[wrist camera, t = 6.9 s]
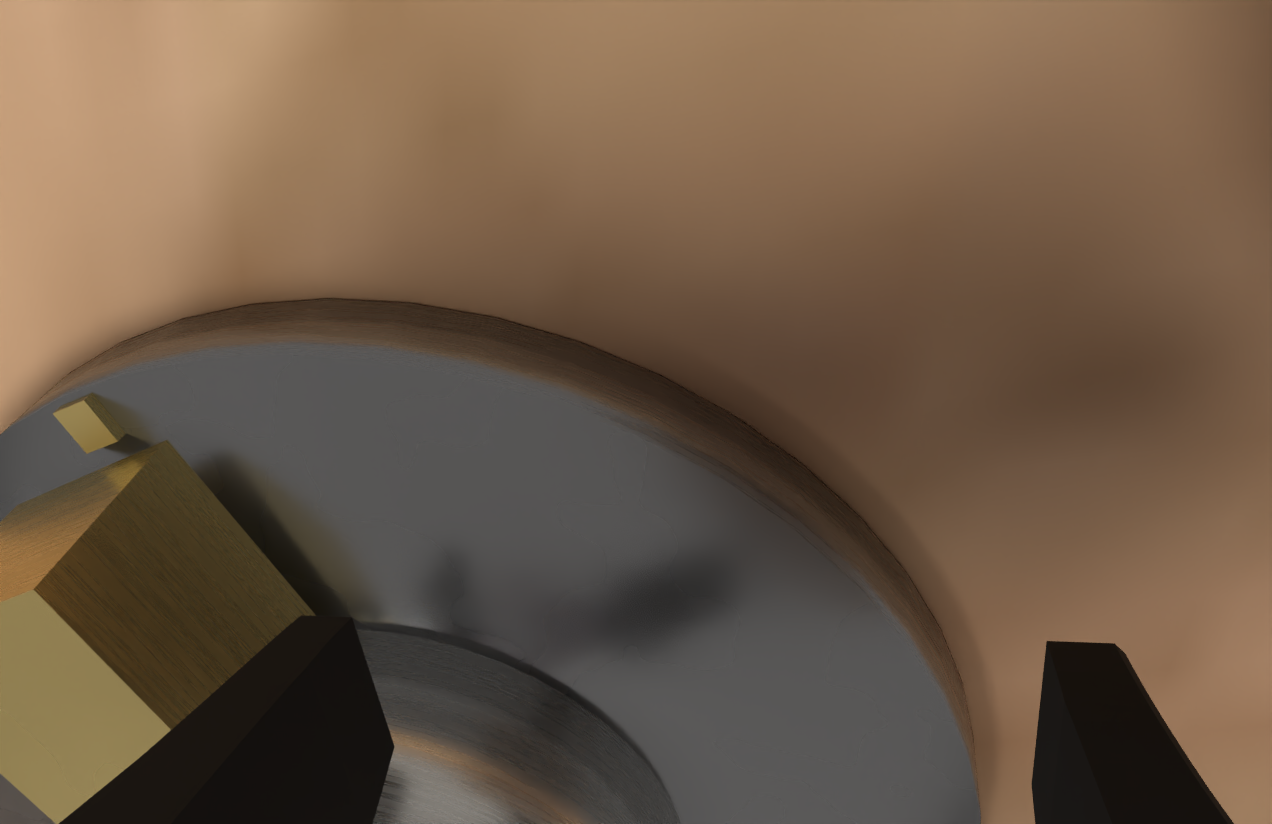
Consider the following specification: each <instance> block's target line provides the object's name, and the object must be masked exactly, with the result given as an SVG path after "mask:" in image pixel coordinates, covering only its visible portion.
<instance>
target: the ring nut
mask: <svg viewBox="0 0 1272 824" xmlns="http://www.w3.org/2000/svg"><path fill="white" fill-rule="evenodd" d="M301 615H305V616H316V615H315V614H314V613H313V611H312V610H311V609H310V608H309V607H308V605H307V604H306V603H305V602H304V601H303V600H302V598H301V597H300V596H299V595H298V594H297V592H296V591H295V590H294V589H293V588H292V587H291V585H290V584H289V583H288V582H287V581H286V579H285V578H284V577H283V576H282V575H281V574H280V572H279V571H278V570H277V569H276V568H275V566H274V565H273V564H272V563H271V562H270V560H269V559H268V558H267V557H266V556H265V555H264V553H263V552H262V551H261V550H260V549H259V547H258V546H257V545H256V544H255V543H254V542H253V540H252V539H251V538H250V537H249V536H248V534H247V533H246V532H245V531H244V530H243V528H242V527H241V526H240V525H239V524H238V523H237V521H236V520H235V519H234V518H233V517H232V515H231V514H230V513H229V512H228V511H227V510H226V508H225V507H224V506H223V505H222V504H221V502H220V501H219V500H218V499H217V498H216V497H215V495H214V494H213V493H212V492H211V491H210V489H209V488H208V487H207V486H206V485H205V483H204V482H203V481H202V480H201V479H200V478H199V476H198V475H197V474H196V473H195V472H194V470H193V469H192V468H191V467H190V466H189V465H188V463H187V462H186V461H185V460H184V459H183V457H182V456H181V455H180V454H179V453H178V452H177V450H176V449H175V448H174V447H173V446H172V444H171V443H170V442H169V441H168V440H165V441H163V442H160V443H158V444H156V445H153V446H151V447H149V448H147V449H144V450H142V451H140V452H137V453H135V454H133V455H131V456H128V457H126V458H124V459H121V460H119V461H117V462H115V463H112V464H110V465H108V466H105V467H103V468H101V469H99V470H96V471H94V472H92V473H89V474H87V475H85V476H83V477H80V478H78V479H76V480H73V481H71V482H69V483H67V484H64V485H62V486H60V487H57V488H55V489H53V490H51V491H48V492H46V493H44V494H41V495H39V496H37V497H35V498H32V499H30V500H28V501H25V502H23V503H21V504H19V505H17V506H16V507H15V508H14V509H13V510H12V511H11V512H10V513H9V514H8V515H7V516H6V517H5V518H4V519H3V520H2V521H1V522H0V774H1V775H3V776H4V777H5V778H6V779H7V780H8V781H9V782H10V783H11V784H12V785H14V786H15V787H16V788H17V789H18V790H19V791H20V792H21V793H22V794H24V795H25V796H26V797H27V798H28V799H29V800H30V801H31V802H32V803H33V804H35V805H36V806H37V807H38V808H39V809H40V810H41V811H42V812H43V813H44V814H46V815H47V816H48V817H49V818H50V819H51V820H52V821H53V822H54V823H56V824H59V823H60V822H61V821H63V820H64V819H65V818H66V817H67V816H69V815H70V814H71V813H72V812H74V811H75V810H76V809H77V808H78V807H80V806H81V805H82V804H83V803H85V802H86V801H87V800H88V799H89V798H91V797H92V796H93V795H94V794H96V793H97V792H98V791H99V790H101V789H102V788H103V787H104V786H105V785H107V784H108V783H109V782H110V781H112V780H113V779H114V778H115V777H116V776H118V775H119V774H120V773H121V772H123V771H124V770H125V769H126V768H127V767H129V766H130V765H131V764H132V763H134V762H135V761H136V760H137V759H139V758H140V757H141V756H142V755H143V754H144V753H146V752H147V751H148V750H149V749H150V748H151V747H152V746H154V745H155V744H156V743H157V742H158V741H159V740H160V739H161V738H163V737H164V736H165V735H166V734H167V733H168V732H169V731H171V730H172V729H173V728H174V727H175V726H176V725H177V724H179V723H180V722H181V721H182V720H183V719H184V718H185V717H186V716H188V715H189V714H190V713H191V712H192V711H193V710H194V709H196V708H197V707H198V706H199V705H200V704H201V703H202V702H204V701H205V700H206V699H207V698H208V697H209V696H210V695H211V694H212V693H214V692H215V691H216V690H217V689H218V688H219V687H220V686H221V685H222V684H224V683H225V682H226V681H227V680H228V679H229V678H230V677H231V676H232V675H234V674H235V673H236V672H237V671H238V670H239V669H240V668H241V667H242V666H244V665H245V664H246V663H247V662H248V661H249V660H250V659H251V658H252V657H254V656H255V655H256V654H257V653H258V652H259V651H260V650H261V649H262V648H264V647H265V646H266V645H267V644H268V643H269V642H270V641H272V640H273V639H274V638H275V637H276V636H277V635H278V634H280V633H281V632H282V631H283V630H284V629H285V628H287V627H288V626H289V625H290V624H291V623H293V622H294V621H295V620H296V619H297V618H298V617H300V616H301ZM356 631H357V634H358V637H359V640H360V643H361V646H362V649H363V652H364V655H365V658H366V661H367V664H368V667H369V670H370V673H371V676H372V679H373V682H374V685H375V688H376V692H377V695H378V698H379V701H380V704H381V707H382V710H383V713H384V716H385V719H386V722H387V725H388V728H389V731H390V734H391V737H392V740H393V743H394V746H395V747H394V751H393V754H392V758H391V761H390V765H389V769H388V772H387V776H386V779H385V783H384V787H383V790H382V794H381V797H380V800H379V804H378V807H377V810H376V813H375V817H374V820H373V823H372V824H681V823H680V820H679V817H678V814H677V812H676V810H675V808H674V806H673V804H672V802H671V800H670V798H669V796H668V794H667V792H666V791H665V789H664V788H663V786H662V785H661V783H660V782H659V781H658V779H657V778H656V776H655V775H654V773H653V772H652V770H651V769H650V768H649V766H648V765H647V764H646V763H645V762H644V761H643V760H642V759H641V758H640V756H639V755H638V754H637V753H636V752H635V751H634V750H633V749H632V748H631V746H630V745H629V744H628V743H627V742H626V741H625V740H623V739H622V738H621V737H620V736H619V735H618V734H617V733H615V732H614V731H613V730H612V729H611V728H610V727H609V726H607V725H606V724H605V723H604V722H603V721H602V720H601V719H599V718H598V717H596V716H595V715H594V714H592V713H591V712H589V711H588V710H587V709H585V708H584V707H582V706H581V705H580V704H578V703H577V702H575V701H574V700H572V699H571V698H570V697H568V696H566V695H564V694H563V693H561V692H559V691H557V690H556V689H554V688H552V687H550V686H549V685H547V684H545V683H543V682H542V681H540V680H538V679H536V678H535V677H532V676H530V675H528V674H526V673H524V672H521V671H519V670H517V669H515V668H513V667H511V666H508V665H506V664H504V663H502V662H500V661H497V660H494V659H491V658H489V657H486V656H483V655H480V654H477V653H474V652H472V651H469V650H466V649H463V648H460V647H456V646H452V645H449V644H445V643H441V642H437V641H433V640H429V639H425V638H421V637H415V636H409V635H403V634H396V633H390V632H384V631H371V630H356Z"/></svg>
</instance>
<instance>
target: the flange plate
mask: <svg viewBox="0 0 1272 824" xmlns="http://www.w3.org/2000/svg"><path fill="white" fill-rule="evenodd" d="M165 440H168V441H169V442H170V443H171V444H172V446H173V447H174V448H175V449H176V450H177V452H178V453H179V454H180V455H181V456H182V457H183V459H184V460H185V461H186V462H187V463H188V465H189V466H190V467H191V468H192V469H193V470H194V472H195V473H196V474H197V475H198V476H199V478H200V479H201V480H202V481H203V482H204V483H205V485H206V486H207V487H208V488H209V489H210V491H211V492H212V493H213V494H214V495H215V497H216V498H217V499H218V500H219V501H220V502H221V504H222V505H223V506H224V507H225V508H226V510H227V511H228V512H229V513H230V514H231V515H232V517H233V518H234V519H235V520H236V521H237V523H238V524H239V525H240V526H241V527H242V528H243V530H244V531H245V532H246V533H247V534H248V536H249V537H250V538H251V539H252V540H253V542H254V543H255V544H256V545H257V546H258V547H259V549H260V550H261V551H262V552H263V553H264V555H265V556H266V557H267V558H268V559H269V560H270V562H271V563H272V564H273V565H274V566H275V568H276V569H277V570H278V571H279V572H280V574H281V575H282V576H283V577H284V578H285V579H286V581H287V582H288V583H289V584H290V585H291V587H292V588H293V589H294V590H295V591H296V592H297V594H298V595H299V596H300V597H301V598H302V600H303V601H304V602H305V603H306V604H307V605H308V607H309V608H310V609H311V610H312V611H313V613H314V614H315V615H316V616H334V617H352V619H353V622H354V625H355V628H356V630H371V631H384V632H390V633H396V634H403V635H409V636H415V637H421V638H425V639H429V640H433V641H437V642H441V643H445V644H449V645H452V646H456V647H460V648H463V649H466V650H469V651H472V652H474V653H477V654H480V655H483V656H486V657H489V658H491V659H494V660H497V661H500V662H502V663H504V664H506V665H508V666H511V667H513V668H515V669H517V670H519V671H521V672H524V673H526V674H528V675H530V676H532V677H535V678H536V679H538V680H540V681H542V682H543V683H545V684H547V685H549V686H550V687H552V688H554V689H556V690H557V691H559V692H561V693H563V694H564V695H566V696H568V697H570V698H571V699H572V700H574V701H575V702H577V703H578V704H580V705H581V706H582V707H584V708H585V709H587V710H588V711H589V712H591V713H592V714H594V715H595V716H596V717H598V718H599V719H601V720H602V721H603V722H604V723H605V724H606V725H607V726H609V727H610V728H611V729H612V730H613V731H614V732H615V733H617V734H618V735H619V736H620V737H621V738H622V739H623V740H625V741H626V742H627V743H628V744H629V745H630V746H631V748H632V749H633V750H634V751H635V752H636V753H637V754H638V755H639V756H640V758H641V759H642V760H643V761H644V762H645V763H646V764H647V765H648V766H649V768H650V769H651V770H652V772H653V773H654V775H655V776H656V778H657V779H658V781H659V782H660V783H661V785H662V786H663V788H664V789H665V791H666V792H667V794H668V796H669V798H670V800H671V802H672V804H673V806H674V808H675V810H676V812H677V814H678V817H679V820H680V823H681V824H981V813H980V803H979V793H978V782H977V772H976V762H975V751H974V741H973V733H972V728H971V723H970V718H969V714H968V709H967V704H966V699H965V694H964V690H963V685H962V681H961V678H960V676H959V674H958V671H957V669H956V666H955V664H954V661H953V659H952V656H951V654H950V651H949V649H948V646H947V644H946V641H945V639H944V637H943V634H942V632H941V629H940V627H939V625H938V624H937V622H936V620H935V619H934V617H933V615H932V614H931V612H930V611H929V609H928V607H927V606H926V604H925V602H924V601H923V599H922V597H921V596H920V594H919V593H918V591H917V589H916V588H915V586H914V584H913V583H912V581H911V579H910V578H909V576H908V574H907V573H906V571H905V570H904V569H903V568H902V567H901V565H900V564H899V563H898V562H897V561H896V559H895V558H894V557H893V556H892V555H891V553H890V552H889V551H888V550H887V549H886V547H885V546H884V545H883V544H882V543H881V541H880V540H879V539H878V538H877V537H876V535H875V534H874V533H873V532H872V531H871V529H870V528H869V527H868V526H867V525H866V523H865V522H864V521H863V520H862V519H861V517H860V516H858V515H857V514H856V513H855V512H854V511H853V510H852V509H851V508H850V507H849V506H848V505H846V504H845V503H844V502H843V501H842V500H841V499H840V498H839V497H838V496H837V495H836V494H835V493H833V492H832V491H831V490H830V489H829V488H828V487H827V486H826V485H825V484H824V483H823V482H821V481H820V480H819V479H818V478H817V477H816V476H815V475H814V474H813V473H812V472H811V471H809V470H808V469H807V468H806V467H805V466H804V465H803V464H801V463H800V462H799V461H797V460H796V459H794V458H793V457H792V456H790V455H789V454H787V453H786V452H785V451H783V450H782V449H780V448H779V447H778V446H776V445H775V444H773V443H772V442H770V441H769V440H768V439H766V438H765V437H763V436H762V435H761V434H759V433H758V432H756V431H755V430H754V429H752V428H751V427H749V426H748V425H747V424H745V423H744V422H742V421H741V420H740V419H738V418H737V417H735V416H733V415H731V414H730V413H728V412H726V411H724V410H722V409H721V408H719V407H717V406H715V405H713V404H712V403H710V402H708V401H706V400H704V399H702V398H701V397H699V396H697V395H695V394H693V393H692V392H690V391H688V390H686V389H684V388H683V387H681V386H679V385H677V384H675V383H673V382H672V381H670V380H668V379H666V378H664V377H663V376H661V375H658V374H656V373H653V372H651V371H649V370H646V369H644V368H641V367H639V366H636V365H634V364H632V363H629V362H627V361H624V360H622V359H620V358H617V357H615V356H612V355H610V354H607V353H605V352H603V351H600V350H598V349H595V348H593V347H591V346H588V345H586V344H583V343H581V342H578V341H574V340H571V339H567V338H564V337H560V336H557V335H554V334H550V333H547V332H543V331H540V330H536V329H533V328H529V327H526V326H522V325H519V324H516V323H512V322H509V321H505V320H502V319H498V318H494V317H488V316H483V315H477V314H471V313H465V312H459V311H453V310H448V309H442V308H436V307H430V306H424V305H418V304H412V303H397V302H378V301H359V300H340V299H321V300H307V301H294V302H280V303H267V304H253V305H247V306H242V307H238V308H233V309H229V310H224V311H219V312H215V313H210V314H205V315H201V316H196V317H191V318H187V319H182V320H179V321H176V322H174V323H171V324H169V325H166V326H163V327H161V328H158V329H155V330H153V331H150V332H148V333H145V334H142V335H140V336H137V337H135V338H132V339H129V340H127V341H124V342H121V343H119V344H118V345H116V346H114V347H113V348H111V349H109V350H107V351H106V352H104V353H102V354H101V355H99V356H97V357H96V358H94V359H92V360H91V361H89V362H87V363H86V364H84V365H82V366H81V367H79V368H77V369H76V370H74V371H72V372H70V373H69V374H68V375H67V376H65V377H64V378H63V379H62V380H61V381H60V382H59V383H58V384H56V385H55V386H54V387H53V388H52V389H51V390H50V391H49V392H47V393H46V394H45V395H44V396H43V397H42V398H41V399H40V400H38V401H37V402H36V403H35V404H34V405H33V406H32V407H31V408H29V409H28V410H27V411H26V412H25V413H24V414H23V415H22V416H21V417H19V418H18V419H17V420H16V421H15V422H14V423H13V424H12V425H10V426H9V427H8V428H7V429H6V430H5V431H4V432H3V433H2V434H0V522H1V521H2V520H3V519H4V518H5V517H6V516H7V515H8V514H9V513H10V512H11V511H12V510H13V509H14V508H15V507H16V506H17V505H19V504H21V503H23V502H25V501H28V500H30V499H32V498H35V497H37V496H39V495H41V494H44V493H46V492H48V491H51V490H53V489H55V488H57V487H60V486H62V485H64V484H67V483H69V482H71V481H73V480H76V479H78V478H80V477H83V476H85V475H87V474H89V473H92V472H94V471H96V470H99V469H101V468H103V467H105V466H108V465H110V464H112V463H115V462H117V461H119V460H121V459H124V458H126V457H128V456H131V455H133V454H135V453H137V452H140V451H142V450H144V449H147V448H149V447H151V446H153V445H156V444H158V443H160V442H163V441H165ZM0 824H56V823H54V822H53V821H52V820H51V819H50V818H49V817H48V816H47V815H46V814H44V813H43V812H42V811H41V810H40V809H39V808H38V807H37V806H36V805H35V804H33V803H32V802H31V801H30V800H29V799H28V798H27V797H26V796H25V795H24V794H22V793H21V792H20V791H19V790H18V789H17V788H16V787H15V786H14V785H12V784H11V783H10V782H9V781H8V780H7V779H6V778H5V777H4V776H3V775H1V774H0Z"/></svg>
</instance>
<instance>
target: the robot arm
mask: <svg viewBox="0 0 1272 824" xmlns="http://www.w3.org/2000/svg"><path fill="white" fill-rule="evenodd" d="M394 747H395V746H394V743H393V740H392V737H391V734H390V731H389V728H388V725H387V722H386V719H385V716H384V713H383V710H382V707H381V704H380V701H379V698H378V695H377V692H376V688H375V685H374V682H373V679H372V676H371V673H370V670H369V667H368V664H367V661H366V658H365V655H364V652H363V649H362V646H361V643H360V640H359V637H358V634H357V631H356V628H355V625H354V622H353V619H352V617H334V616H305V615H301V616H300V617H298V618H297V619H296V620H295V621H294V622H293V623H291V624H290V625H289V626H288V627H287V628H285V629H284V630H283V631H282V632H281V633H280V634H278V635H277V636H276V637H275V638H274V639H273V640H272V641H270V642H269V643H268V644H267V645H266V646H265V647H264V648H262V649H261V650H260V651H259V652H258V653H257V654H256V655H255V656H254V657H252V658H251V659H250V660H249V661H248V662H247V663H246V664H245V665H244V666H242V667H241V668H240V669H239V670H238V671H237V672H236V673H235V674H234V675H232V676H231V677H230V678H229V679H228V680H227V681H226V682H225V683H224V684H222V685H221V686H220V687H219V688H218V689H217V690H216V691H215V692H214V693H212V694H211V695H210V696H209V697H208V698H207V699H206V700H205V701H204V702H202V703H201V704H200V705H199V706H198V707H197V708H196V709H194V710H193V711H192V712H191V713H190V714H189V715H188V716H186V717H185V718H184V719H183V720H182V721H181V722H180V723H179V724H177V725H176V726H175V727H174V728H173V729H172V730H171V731H169V732H168V733H167V734H166V735H165V736H164V737H163V738H161V739H160V740H159V741H158V742H157V743H156V744H155V745H154V746H152V747H151V748H150V749H149V750H148V751H147V752H146V753H144V754H143V755H142V756H141V757H140V758H139V759H137V760H136V761H135V762H134V763H132V764H131V765H130V766H129V767H127V768H126V769H125V770H124V771H123V772H121V773H120V774H119V775H118V776H116V777H115V778H114V779H113V780H112V781H110V782H109V783H108V784H107V785H105V786H104V787H103V788H102V789H101V790H99V791H98V792H97V793H96V794H94V795H93V796H92V797H91V798H89V799H88V800H87V801H86V802H85V803H83V804H82V805H81V806H80V807H78V808H77V809H76V810H75V811H74V812H72V813H71V814H70V815H69V816H67V817H66V818H65V819H64V820H63V821H61V822H60V823H59V824H372V823H373V820H374V817H375V813H376V810H377V807H378V804H379V800H380V797H381V794H382V790H383V787H384V783H385V779H386V776H387V772H388V769H389V765H390V761H391V758H392V754H393V751H394ZM1032 793H1033V803H1034V813H1035V824H1234V823H1233V822H1232V820H1231V819H1230V818H1229V816H1228V815H1227V813H1226V812H1225V811H1224V809H1223V808H1222V807H1221V805H1220V804H1219V802H1218V801H1217V800H1216V798H1215V797H1214V795H1213V794H1212V793H1211V791H1210V790H1209V788H1208V787H1207V785H1206V784H1205V782H1204V781H1203V779H1202V778H1201V776H1200V775H1199V774H1198V772H1197V771H1196V769H1195V768H1194V766H1193V765H1192V763H1191V762H1190V760H1189V759H1188V757H1187V755H1186V754H1185V752H1184V751H1183V749H1182V748H1181V746H1180V745H1179V743H1178V742H1177V740H1176V738H1175V737H1174V735H1173V734H1172V732H1171V731H1170V729H1169V728H1168V726H1167V724H1166V723H1165V721H1164V720H1163V718H1162V716H1161V715H1160V713H1159V711H1158V710H1157V708H1156V707H1155V705H1154V703H1153V702H1152V700H1151V698H1150V697H1149V695H1148V693H1147V692H1146V690H1145V688H1144V686H1143V685H1142V683H1141V681H1140V679H1139V678H1138V676H1137V674H1136V672H1135V671H1134V669H1133V667H1132V665H1131V663H1130V662H1129V660H1128V658H1127V656H1126V654H1125V653H1124V652H1123V651H1122V650H1121V649H1120V648H1119V647H1118V646H1116V645H1115V644H1113V643H1084V642H1055V641H1047V643H1046V653H1045V662H1044V672H1043V682H1042V691H1041V701H1040V710H1039V720H1038V729H1037V739H1036V748H1035V758H1034V767H1033V777H1032Z"/></svg>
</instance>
